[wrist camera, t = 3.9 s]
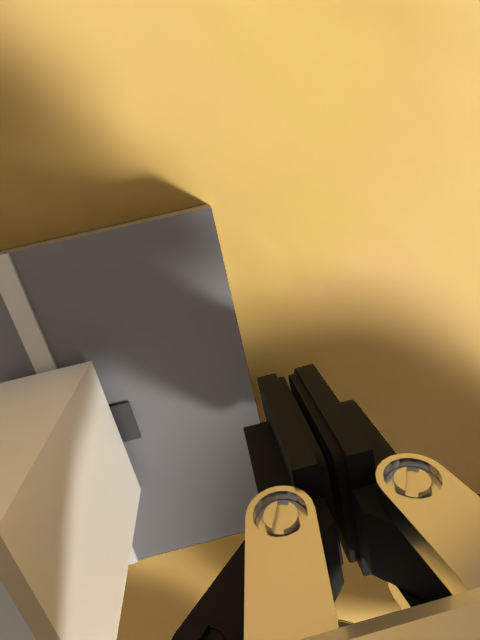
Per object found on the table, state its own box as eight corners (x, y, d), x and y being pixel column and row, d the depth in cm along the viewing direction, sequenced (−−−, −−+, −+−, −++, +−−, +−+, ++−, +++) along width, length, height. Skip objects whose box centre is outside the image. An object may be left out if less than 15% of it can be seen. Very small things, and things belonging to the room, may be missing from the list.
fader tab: (-10, 385, 11) (-234, 608, 5) (91, 361, 11) (-17, 552, 5) (53, 511, 13) (-63, 789, 7) (140, 489, 13) (99, 742, 7)
